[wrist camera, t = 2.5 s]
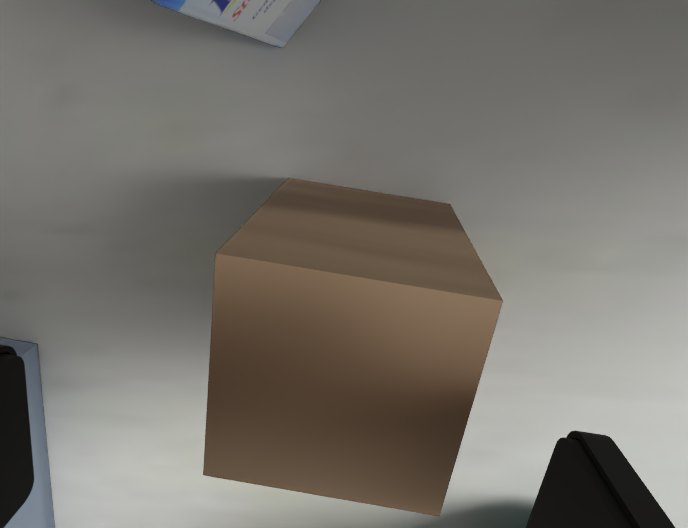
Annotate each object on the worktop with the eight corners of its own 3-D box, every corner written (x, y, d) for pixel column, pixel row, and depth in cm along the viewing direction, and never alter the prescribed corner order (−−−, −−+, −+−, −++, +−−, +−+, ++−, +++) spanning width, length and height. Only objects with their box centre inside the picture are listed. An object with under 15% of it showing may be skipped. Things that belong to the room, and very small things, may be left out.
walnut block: (288, 178, 15) (215, 252, 8) (450, 204, 15) (503, 300, 8) (273, 320, 17) (203, 475, 10) (417, 345, 17) (439, 516, 10)
